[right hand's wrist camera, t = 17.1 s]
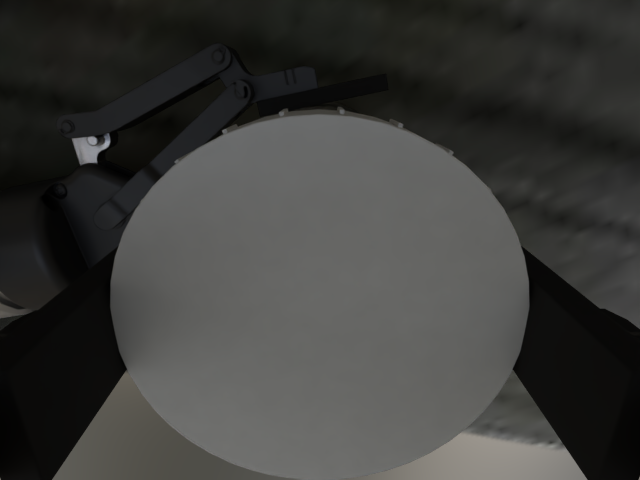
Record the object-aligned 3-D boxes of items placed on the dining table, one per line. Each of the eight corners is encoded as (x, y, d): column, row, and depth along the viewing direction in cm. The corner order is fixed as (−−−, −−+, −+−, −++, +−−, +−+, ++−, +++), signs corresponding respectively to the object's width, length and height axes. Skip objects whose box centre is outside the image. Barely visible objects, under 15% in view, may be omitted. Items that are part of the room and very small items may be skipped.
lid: (576, 296, 12) (617, 330, 10) (320, 482, 15) (320, 532, 13) (320, 5, 9) (320, -12, 8) (64, 297, 12) (23, 331, 10)
